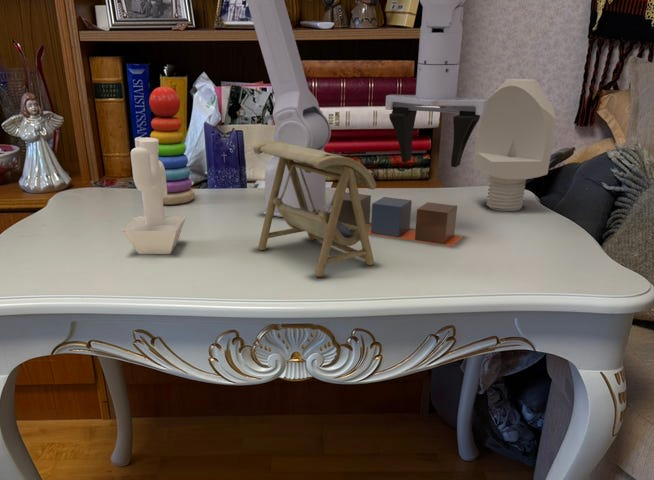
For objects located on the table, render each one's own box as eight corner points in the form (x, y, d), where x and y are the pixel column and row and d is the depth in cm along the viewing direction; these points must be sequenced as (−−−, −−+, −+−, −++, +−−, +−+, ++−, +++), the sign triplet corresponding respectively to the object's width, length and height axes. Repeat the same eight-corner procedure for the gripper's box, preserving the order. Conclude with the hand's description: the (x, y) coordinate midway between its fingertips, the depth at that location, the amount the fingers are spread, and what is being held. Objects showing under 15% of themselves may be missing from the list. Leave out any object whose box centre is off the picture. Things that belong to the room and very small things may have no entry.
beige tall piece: (469, 200, 117) (483, 77, 108) (521, 199, 117) (539, 77, 108) (485, 214, 109) (501, 82, 100) (541, 213, 109) (562, 82, 100)
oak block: (331, 227, 102) (331, 198, 100) (343, 220, 106) (344, 192, 104) (357, 231, 100) (358, 201, 98) (369, 224, 104) (371, 195, 102)
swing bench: (376, 265, 87) (382, 148, 80) (316, 280, 82) (317, 157, 75) (312, 238, 98) (312, 132, 91) (256, 249, 93) (251, 139, 86)
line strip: (320, 226, 103) (320, 226, 103) (334, 219, 107) (334, 218, 107) (452, 246, 94) (452, 245, 94) (462, 237, 98) (462, 236, 98)
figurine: (189, 239, 97) (180, 132, 90) (177, 260, 89) (166, 143, 82) (140, 239, 97) (127, 132, 91) (123, 259, 89) (107, 143, 82)
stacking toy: (190, 206, 114) (181, 89, 106) (144, 206, 114) (131, 89, 106) (198, 195, 121) (189, 84, 113) (154, 195, 122) (142, 84, 113)
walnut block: (414, 239, 96) (417, 209, 94) (425, 231, 100) (427, 202, 98) (444, 244, 94) (447, 212, 92) (454, 236, 98) (457, 205, 96)
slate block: (370, 233, 99) (371, 203, 97) (382, 225, 103) (383, 196, 101) (398, 237, 97) (400, 206, 95) (409, 229, 101) (411, 200, 99)
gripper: (379, 64, 93) (374, 163, 99) (482, 66, 87) (470, 173, 93) (397, 61, 98) (392, 155, 104) (496, 63, 92) (484, 164, 98)
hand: (430, 163), depth 99 cm, fingers open, 7 cm apart
